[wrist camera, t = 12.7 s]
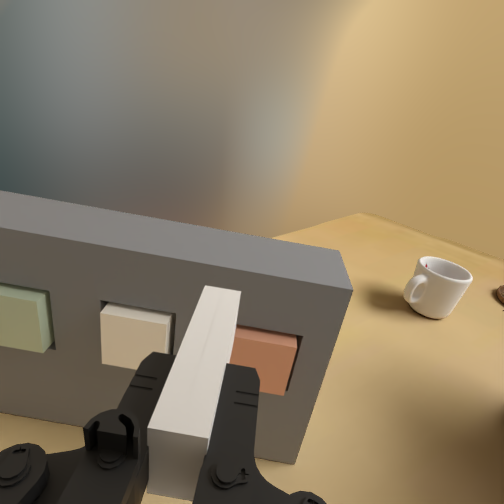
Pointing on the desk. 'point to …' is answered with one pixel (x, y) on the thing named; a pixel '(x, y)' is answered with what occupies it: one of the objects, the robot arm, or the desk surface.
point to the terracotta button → (265, 355)
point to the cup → (436, 287)
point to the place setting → (500, 290)
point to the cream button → (134, 334)
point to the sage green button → (25, 318)
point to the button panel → (160, 305)
